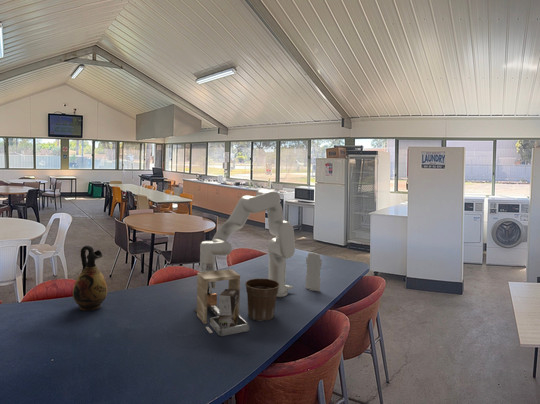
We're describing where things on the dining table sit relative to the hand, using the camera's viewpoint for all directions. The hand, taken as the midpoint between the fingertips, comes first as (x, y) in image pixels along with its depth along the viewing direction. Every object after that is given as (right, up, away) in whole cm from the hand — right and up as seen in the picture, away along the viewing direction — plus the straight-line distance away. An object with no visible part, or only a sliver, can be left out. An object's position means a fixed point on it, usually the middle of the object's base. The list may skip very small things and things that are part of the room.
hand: (207, 301), depth 192 cm
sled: (+9, -4, -17) cm, 20 cm away
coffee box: (+14, -5, -26) cm, 30 cm away
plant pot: (+28, -4, -12) cm, 31 cm away
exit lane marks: (+13, -5, -25) cm, 28 cm away
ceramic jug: (-57, -1, -6) cm, 57 cm away
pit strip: (+2, -3, -5) cm, 6 cm away
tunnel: (+7, -4, -14) cm, 16 cm away
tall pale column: (+57, -1, +30) cm, 64 cm away
